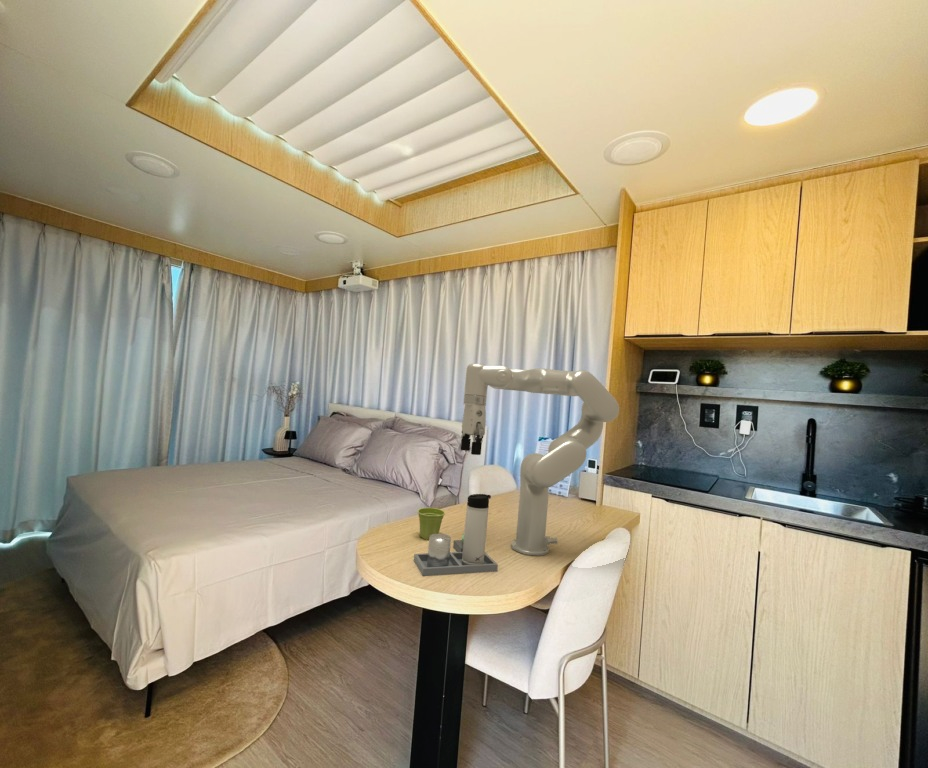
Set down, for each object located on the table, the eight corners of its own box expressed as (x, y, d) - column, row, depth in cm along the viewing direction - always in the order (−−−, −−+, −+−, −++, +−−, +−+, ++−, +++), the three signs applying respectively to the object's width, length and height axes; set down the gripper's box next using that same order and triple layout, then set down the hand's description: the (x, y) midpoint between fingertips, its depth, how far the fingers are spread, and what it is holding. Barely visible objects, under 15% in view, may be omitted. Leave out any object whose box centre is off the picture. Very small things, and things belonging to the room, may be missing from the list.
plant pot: (441, 543, 131) (444, 516, 131) (413, 540, 131) (415, 513, 132) (443, 534, 140) (445, 509, 141) (416, 531, 140) (419, 506, 141)
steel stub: (444, 561, 114) (447, 533, 114) (451, 570, 108) (454, 540, 109) (424, 562, 112) (427, 533, 112) (430, 572, 106) (432, 541, 107)
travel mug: (482, 571, 110) (489, 498, 111) (459, 567, 111) (466, 494, 112) (486, 562, 116) (492, 493, 117) (463, 558, 117) (470, 490, 118)
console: (473, 549, 128) (474, 539, 129) (481, 557, 122) (482, 547, 122) (452, 549, 126) (453, 540, 126) (460, 558, 119) (461, 548, 120)
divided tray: (482, 559, 120) (483, 550, 121) (497, 574, 111) (497, 564, 111) (413, 563, 113) (414, 553, 113) (422, 579, 104) (423, 568, 104)
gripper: (496, 402, 127) (491, 457, 126) (475, 401, 143) (471, 449, 142) (474, 400, 124) (469, 456, 123) (455, 399, 140) (451, 448, 140)
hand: (470, 452), depth 133 cm, fingers open, 9 cm apart
